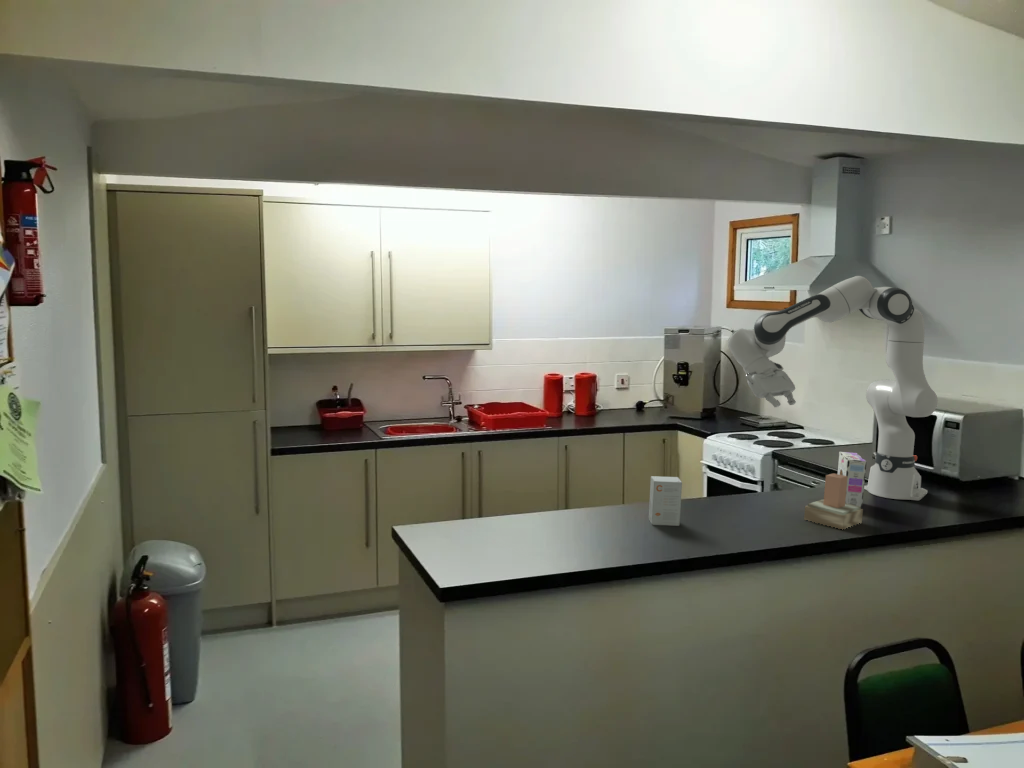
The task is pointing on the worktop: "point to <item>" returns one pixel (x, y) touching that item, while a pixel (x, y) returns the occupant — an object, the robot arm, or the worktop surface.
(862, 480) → the candy box
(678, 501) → the small box
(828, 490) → the terracotta block
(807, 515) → the birch plinth
